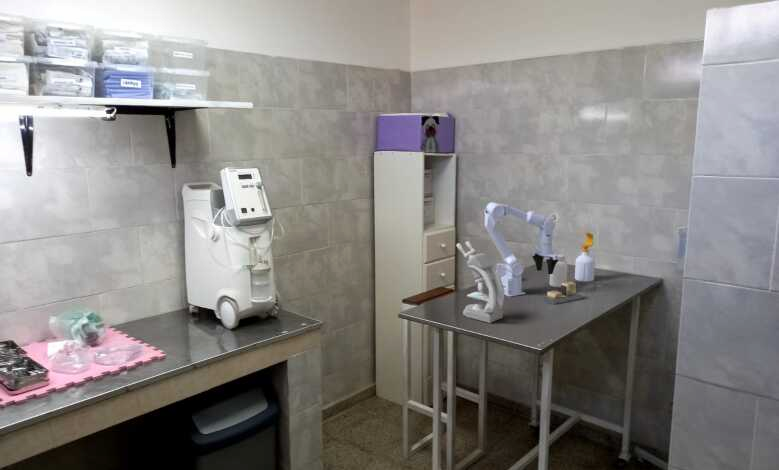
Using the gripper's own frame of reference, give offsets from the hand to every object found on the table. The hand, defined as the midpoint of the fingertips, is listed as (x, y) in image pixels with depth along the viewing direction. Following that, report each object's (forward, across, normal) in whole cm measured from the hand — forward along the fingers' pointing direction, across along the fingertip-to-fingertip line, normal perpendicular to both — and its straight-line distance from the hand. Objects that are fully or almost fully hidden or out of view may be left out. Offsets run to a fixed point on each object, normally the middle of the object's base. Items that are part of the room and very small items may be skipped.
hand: (544, 272), depth 259 cm
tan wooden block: (+8, -14, -1) cm, 16 cm away
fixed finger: (+8, -14, +6) cm, 17 cm away
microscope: (+10, -15, +47) cm, 50 cm away
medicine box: (+10, +25, +4) cm, 27 cm away
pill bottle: (+10, +5, -13) cm, 17 cm away
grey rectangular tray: (+9, -14, +2) cm, 17 cm away
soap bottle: (+10, +7, -32) cm, 34 cm away
